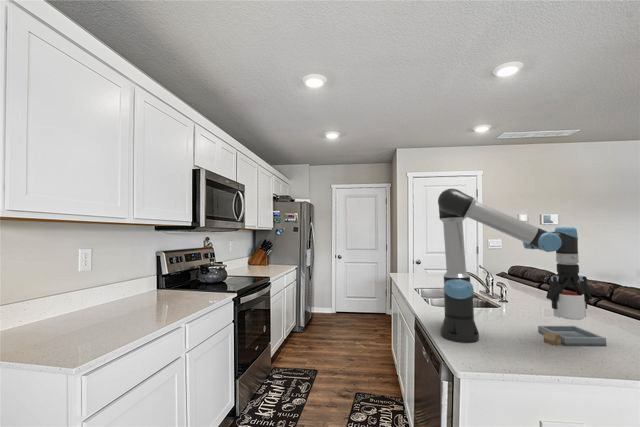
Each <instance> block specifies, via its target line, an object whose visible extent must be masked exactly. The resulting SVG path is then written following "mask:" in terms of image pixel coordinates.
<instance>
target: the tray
mask: <svg viewBox="0 0 640 427" xmlns="http://www.w3.org/2000/svg"><path fill="white" fill-rule="evenodd" d="M550 331H551V332H554V333H557V334H561V344H560V345H562V346H564V347H607V338H606V337H604V336H601V335H599V334H597V333H594V332H591V331H589V330H587V329H584V328H581V327H579V326H577V325H538V326H537V333H538V332H539V334H540V333H541V335H542V334H543V335H542V336H544V332H550Z"/></svg>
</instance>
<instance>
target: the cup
mask: <svg viewBox="0 0 640 427" xmlns="http://www.w3.org/2000/svg"><path fill="white" fill-rule="evenodd" d="M558 302H560V318H561V319H562V318H563V319H565V320H571V321H573V320H575V321H580V320H581V321H582V320H583V319H584V318H586V317H585V303H584V294H582V295H581V296H580V295H578V294H577V293H576V291H569V290H568V291H567V290H563V291H562V293H561V294H559V299H558Z"/></svg>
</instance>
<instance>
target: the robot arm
mask: <svg viewBox="0 0 640 427" xmlns="http://www.w3.org/2000/svg"><path fill="white" fill-rule="evenodd" d="M437 198H438V199H437V205H438V214H439V216H438V217H439V221H441V222H442V224H443V238H444V239H443V240H444V252H445V266H446V272H445V273H444V274H443V292H444V293H443V294H444V295H443V297H444V298H443V299H444V302H443V303H444V304H443V305H444V306H443V307H444V317H443V318H444V319H443V322H442V324H441V327H440V336H442V337H443V338H444V339H446V340H449V341H454V342H459V343H474V342H478V341H479V339H480V333H479V330H478V328H477V324H476V322H475V321H476V320H475V318H474V317H475V316H474V315H475V312H474V311H475V310H474V308H475V307H474V305H475V304H474V293H475V292H474V291H475V290H474V285H473V283H472V282H471V275H470V274H469V273H468V272H467V267H466V254H465V253H466V252H465V251H466V250H465V249H466V248H465V239H464V224H463V222H464V220H465V219H466V218H468V219H471V220H473V221H475V222H477V223H480V224H482V225H485V226H487V227H489V228H491V229H493V230H496V231H498V232H500V233H503V234H505V235H507V236H509V237H511V238H514V239H516V240H519V241H521V242H522V246H523V248H524V249H527V250H540V251H544V252H546V253H552V252H555V262H556V272H557V275H556V276H552V275H550V276H549V285H548V289H547V293H546V299H547V300H549V301H551V309H553V317H556V318H558V319H559V318H561V317H560V302H558V299H559V294H561V293H562V291H564V289H565V288H566V287H570V286H571V287H572V288H573V290H574V292H576V293H577V294H578V295H580V296H581V295H582V294H584V303H585V318H587V309H588V303H589V302H590V301H591V300H592V299H593V297H592V294H591V291H590V288H589V286H588V283H587V280H588V279H587V276H584V275H579V274H580V265H579V262H580V261H579V259H580V258H579V238H578V231H577V230H578V229H577V228H576V227H574V226H570V227H569V226H565V227H564V226H563V227H562V226H559V227H558V226H557V227H555V228H554V231H547V230H545V229H542V228H540V227H537V226H535V225H533V224H531V223H529V222H525V221H523V220H521V219H519V218H516V217H514V216H512V215H509V214H506V213H504V212H502V211H499V210H497V209H495V208H492V207H490V206H487V204H486V205H485V204H483V203H482V202H478V201H476V198H475V197H472V196H470V195H468V194H467V193H464V192H463V191H461V190H459V189H457V188H447V189H445V190H443V191H442V192H441V193H440V194H439V195H438V197H437ZM578 281H579V282H578Z"/></svg>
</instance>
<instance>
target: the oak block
mask: <svg viewBox="0 0 640 427" xmlns="http://www.w3.org/2000/svg"><path fill="white" fill-rule="evenodd" d="M545 342H546V343H545ZM543 343H545V344H547V343H548V345H550V344H551V346H553V345H555V346H559V345H562V344H561V334H557V333H554V332H551V331H550V332H544V335H543Z"/></svg>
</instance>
